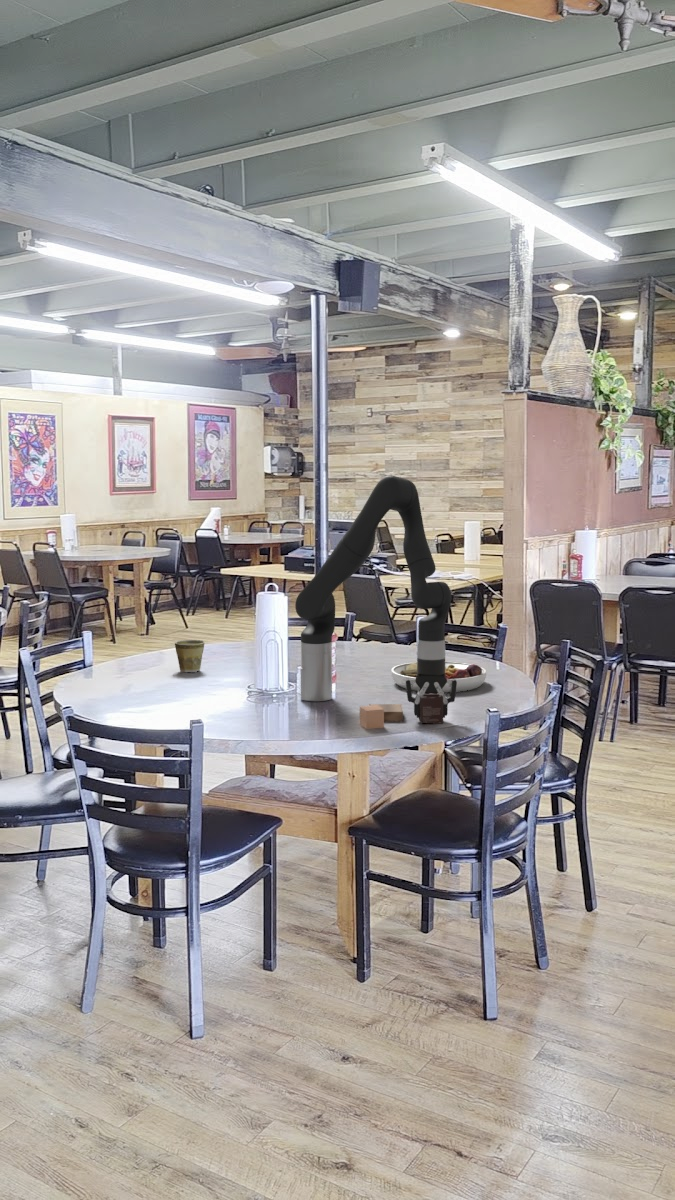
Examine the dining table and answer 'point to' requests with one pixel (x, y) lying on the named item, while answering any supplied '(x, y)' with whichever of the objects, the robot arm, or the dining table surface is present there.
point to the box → (431, 708)
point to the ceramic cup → (189, 654)
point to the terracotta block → (371, 717)
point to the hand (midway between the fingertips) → (430, 716)
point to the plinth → (391, 711)
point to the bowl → (462, 672)
